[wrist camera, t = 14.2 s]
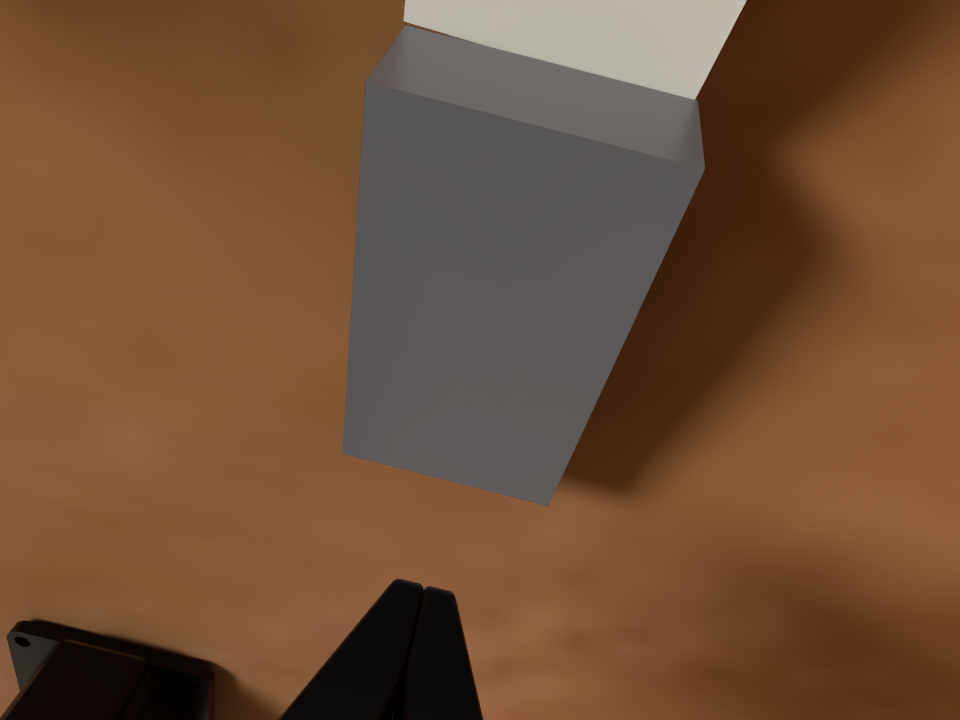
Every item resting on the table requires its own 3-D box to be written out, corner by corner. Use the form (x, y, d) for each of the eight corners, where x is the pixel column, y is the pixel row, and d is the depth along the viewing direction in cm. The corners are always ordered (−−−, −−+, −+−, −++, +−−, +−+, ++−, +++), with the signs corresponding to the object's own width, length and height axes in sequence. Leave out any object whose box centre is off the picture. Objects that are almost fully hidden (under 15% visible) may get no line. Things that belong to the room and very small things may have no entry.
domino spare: (548, 506, 14) (705, 168, 9) (342, 453, 14) (365, 81, 9) (557, 432, 16) (698, 100, 10) (370, 384, 16) (405, 24, 10)
